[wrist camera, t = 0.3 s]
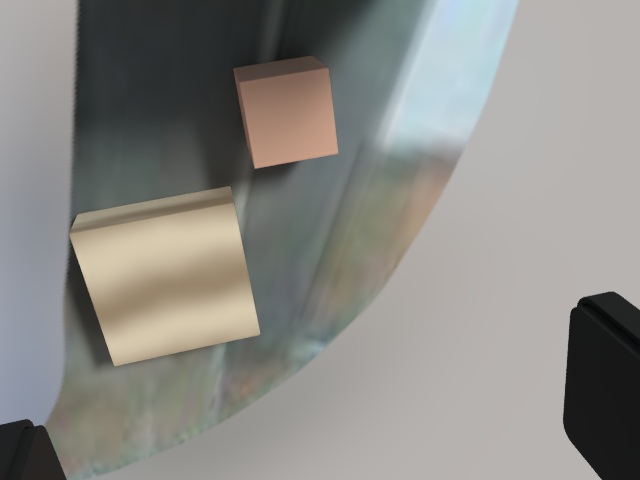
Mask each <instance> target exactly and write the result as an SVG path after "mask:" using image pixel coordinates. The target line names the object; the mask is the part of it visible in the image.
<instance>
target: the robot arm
mask: <svg viewBox="0 0 640 480" xmlns="http://www.w3.org/2000/svg"><path fill="white" fill-rule="evenodd" d="M566 371H567V372H566V384H565V399H564V414H563V424H564V429H565V432H566V434H567V436H568V438H569V439H570V441H571V442H572V444H573V445H574V446H575V447H576V448H577V450H578V451H579V452H580V453H581V455H582V456H583V457H584V458H585V460H586V461H587V462H588V463H589V464H590V466H591V467H592V468H593V469H594V471H595V472H596V473H597V474H598V476H599V477H600V478H601V479H602V480H640V310H639V309H637V308H636V307H635V306H634V305H632V304H631V303H629V302H628V301H627V300H626V299H624V298H623V297H622V296H620V295H619V294H617V293H615V292H606V293H602V294H597V295H592V296H588V297H583V298H582V299H580V300H579V302H578V305H577V307H575V308H573V309H572V311H571V315H570V325H569V341H568V356H567V369H566ZM0 480H67V479H66V477H65V474H64V472H63V469H62V467H61V465H60V462H59V460H58V457H57V455H56V452H55V450H54V447H53V445H52V442H51V440H50V438H49V435H48V433H47V431H46V429H45V427H44V426H42V425H39V426H35V427H34V425H33V423H32V422H31V421H30V420H28V419H25V420H20V421H16V422H12V423H7V424H2V425H0Z"/></svg>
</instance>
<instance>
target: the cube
mask: <svg viewBox="0 0 640 480" xmlns="http://www.w3.org/2000/svg"><path fill="white" fill-rule="evenodd" d="M233 70H234V76H235V81H236V87H237V92H238V98H239V103H240V109H241V114H242V120H243V125H244V131H245V136H246V142H247V146H248V149H249V152H250V155H251V158H252V161H253V164H254V167H255V169H256V168H261V167H267V166H272V165H278V164H283V163H289V162H294V161H300V160H305V159H311V158H316V157H321V156H327V155H332V154H338V148H337V139H336V130H335V121H334V113H333V104H332V95H331V86H330V78H329V69H328V67H327V66H325V65H324V64H323V63H321V62H320V61H319V60H317V59H316V58H315V57H313V56H312V55H311V56H305V57H299V58H293V59H287V60H280V61H274V62H268V63H262V64H255V65H249V66H243V67H237V68H233Z"/></svg>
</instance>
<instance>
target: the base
mask: <svg viewBox="0 0 640 480" xmlns="http://www.w3.org/2000/svg"><path fill="white" fill-rule="evenodd" d="M69 235H70V238H71V241H72V244H73V247H74V250H75V253H76V256H77V259H78V262H79V265H80V267H81V270H82V273H83V276H84V279H85V282H86V285H87V288H88V291H89V294H90V297H91V300H92V302H93V305H94V308H95V311H96V314H97V317H98V320H99V323H100V326H101V329H102V332H103V335H104V338H105V340H106V343H107V346H108V349H109V352H110V355H111V358H112V361H113V364H114V366H118V365H123V364H127V363H132V362H137V361H141V360H146V359H150V358H155V357H160V356H164V355H169V354H173V353H178V352H182V351H187V350H192V349H196V348H201V347H205V346H210V345H215V344H219V343H224V342H228V341H233V340H237V339H242V338H247V337H251V336H256V335H260V330H259V325H258V320H257V315H256V310H255V305H254V300H253V295H252V290H251V285H250V280H249V275H248V271H247V266H246V261H245V256H244V251H243V246H242V241H241V236H240V231H239V226H238V221H237V216H236V211H235V206H234V201H233V196H232V191H231V186H226V187H221V188H216V189H210V190H205V191H199V192H194V193H189V194H183V195H178V196H172V197H167V198H162V199H156V200H151V201H146V202H140V203H135V204H129V205H124V206H119V207H113V208H108V209H102V210H97V211H92V212H86V213H81V214H77V217H76V219H75V221H74V224H73V226H72V228H71V231H70V233H69Z"/></svg>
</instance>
